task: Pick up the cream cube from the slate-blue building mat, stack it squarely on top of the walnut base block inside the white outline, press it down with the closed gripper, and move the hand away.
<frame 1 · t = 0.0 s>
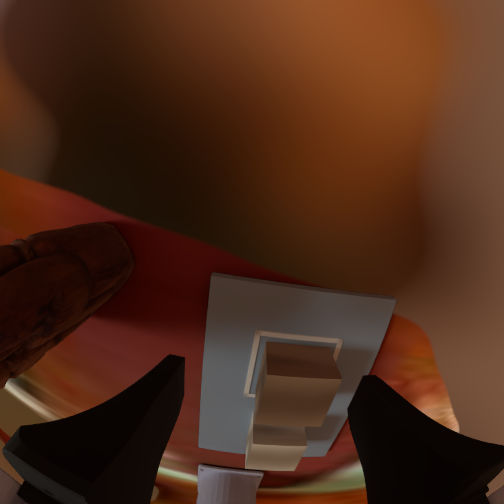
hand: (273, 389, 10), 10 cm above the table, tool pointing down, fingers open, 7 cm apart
wooden figurine: (85, 271, 20), on the table
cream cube: (273, 427, 22), point 1 cm above the table, touching building mat
building mat: (282, 390, 22), on the table
walnut base block: (291, 370, 20), point 1 cm above the table, touching building mat
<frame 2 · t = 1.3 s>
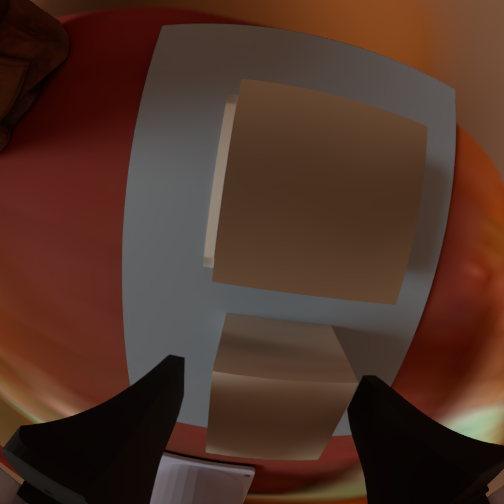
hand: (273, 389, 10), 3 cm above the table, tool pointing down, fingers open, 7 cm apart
wooden figurine: (14, 95, 10), on the table
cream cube: (270, 362, 12), point 1 cm above the table, touching building mat
building mat: (288, 263, 11), on the table
walnut base block: (304, 192, 10), point 1 cm above the table, touching building mat
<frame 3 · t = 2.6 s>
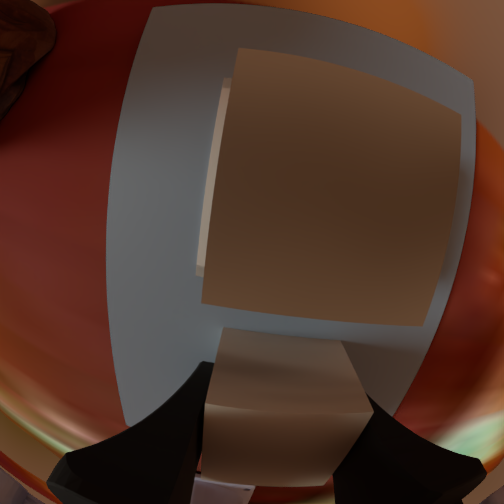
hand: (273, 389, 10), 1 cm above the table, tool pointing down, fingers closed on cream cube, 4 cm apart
wooden figurine: (0, 90, 8), on the table
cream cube: (272, 380, 10), point 1 cm above the table, touching building mat, gripper
building mat: (293, 271, 10), on the table
walnut base block: (312, 190, 9), point 1 cm above the table, touching building mat
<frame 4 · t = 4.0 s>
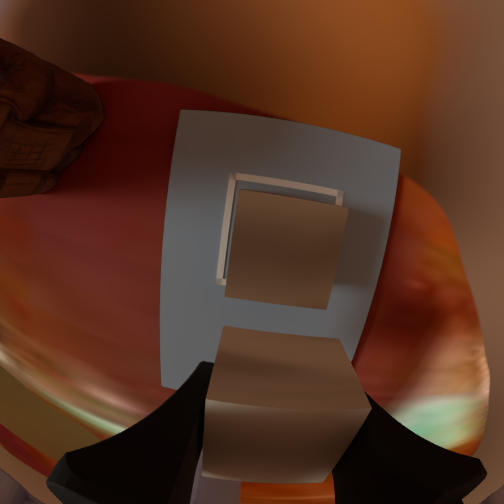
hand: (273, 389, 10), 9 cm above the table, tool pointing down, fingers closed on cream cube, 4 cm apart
wooden figurine: (54, 143, 16), on the table
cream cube: (272, 378, 10), point 8 cm above the table, touching gripper
building mat: (270, 281, 18), on the table
walnut base block: (279, 237, 16), point 1 cm above the table, touching building mat
when the fingers open (6 cm above the table, at t = 5.6 s): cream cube stays where it is, resting on walnut base block.
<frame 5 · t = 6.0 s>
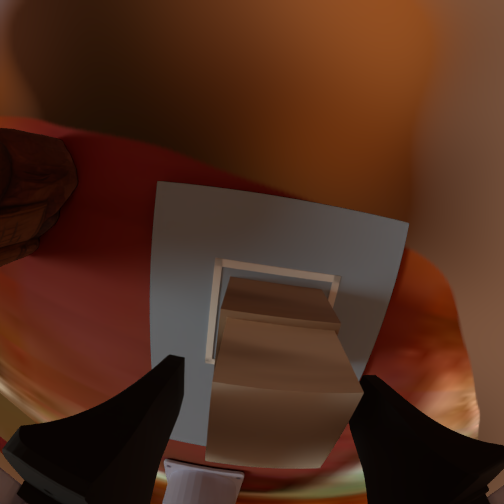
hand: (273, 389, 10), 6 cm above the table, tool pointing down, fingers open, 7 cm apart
wooden figurine: (32, 202, 15), on the table
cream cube: (272, 368, 11), point 5 cm above the table, touching walnut base block
building mat: (260, 357, 17), on the table
walnut base block: (269, 324, 15), point 1 cm above the table, touching building mat, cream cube
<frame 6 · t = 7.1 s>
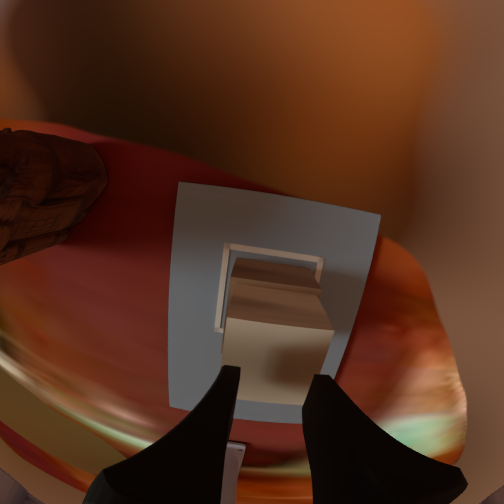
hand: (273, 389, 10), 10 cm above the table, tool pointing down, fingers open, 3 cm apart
wooden figurine: (62, 197, 19), on the table
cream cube: (269, 325, 15), point 5 cm above the table, touching walnut base block
building mat: (260, 328, 21), on the table
walnut base block: (267, 296, 19), point 1 cm above the table, touching building mat, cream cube
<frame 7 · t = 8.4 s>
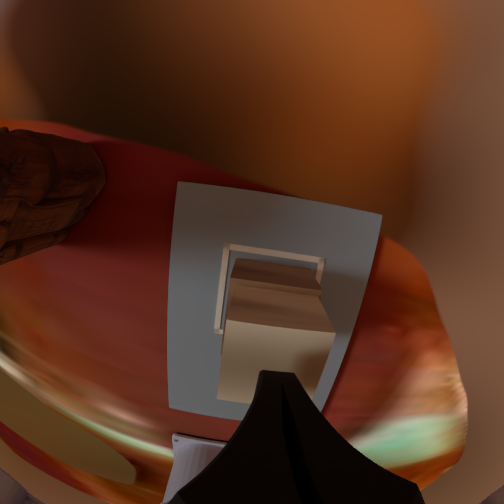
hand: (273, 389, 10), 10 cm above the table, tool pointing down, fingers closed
wooden figurine: (61, 197, 18), on the table
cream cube: (269, 327, 15), point 5 cm above the table, touching walnut base block
building mat: (260, 329, 20), on the table
walnut base block: (267, 297, 19), point 1 cm above the table, touching building mat, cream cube
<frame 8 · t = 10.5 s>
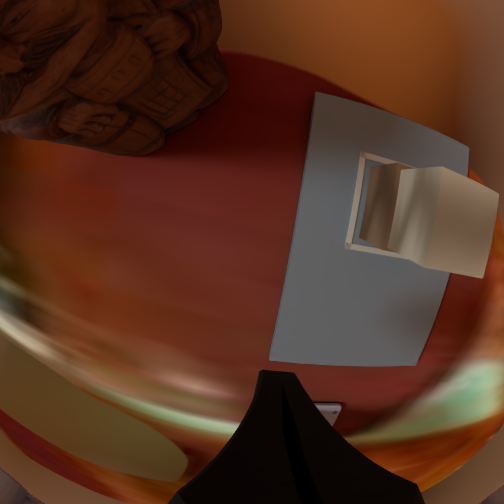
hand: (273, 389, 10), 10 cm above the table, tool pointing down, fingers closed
wooden figurine: (158, 105, 17), on the table
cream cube: (425, 217, 14), point 5 cm above the table, touching walnut base block
building mat: (382, 247, 19), on the table
walnut base block: (395, 209, 17), point 1 cm above the table, touching building mat, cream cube
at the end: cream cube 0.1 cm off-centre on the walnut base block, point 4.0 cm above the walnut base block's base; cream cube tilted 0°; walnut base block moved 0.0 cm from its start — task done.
